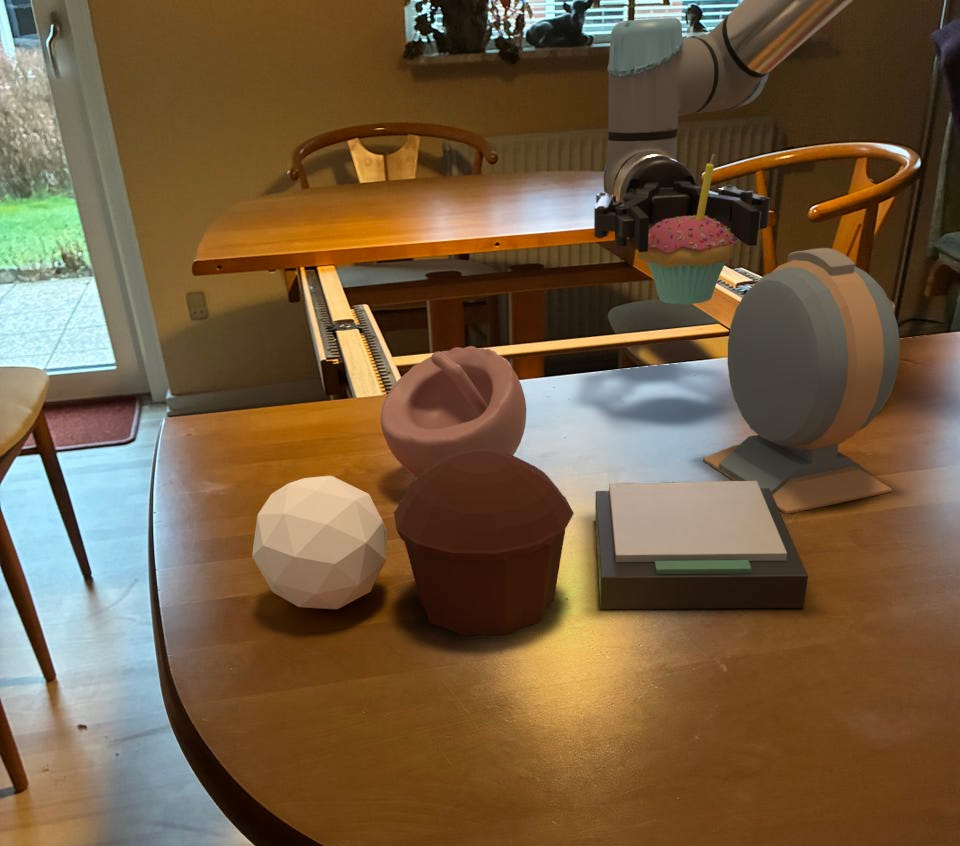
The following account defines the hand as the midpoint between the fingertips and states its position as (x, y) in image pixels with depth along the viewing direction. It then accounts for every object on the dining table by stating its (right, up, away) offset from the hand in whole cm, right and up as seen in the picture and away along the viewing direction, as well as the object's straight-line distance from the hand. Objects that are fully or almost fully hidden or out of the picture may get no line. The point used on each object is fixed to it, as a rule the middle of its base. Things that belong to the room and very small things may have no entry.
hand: (698, 231), depth 83 cm
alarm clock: (+8, -21, -1) cm, 22 cm away
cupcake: (0, -3, +7) cm, 8 cm away
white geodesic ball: (-29, -31, -14) cm, 44 cm away
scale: (-4, -29, -13) cm, 32 cm away
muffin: (-18, -32, -17) cm, 40 cm away
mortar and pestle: (-20, -21, +1) cm, 29 cm away
